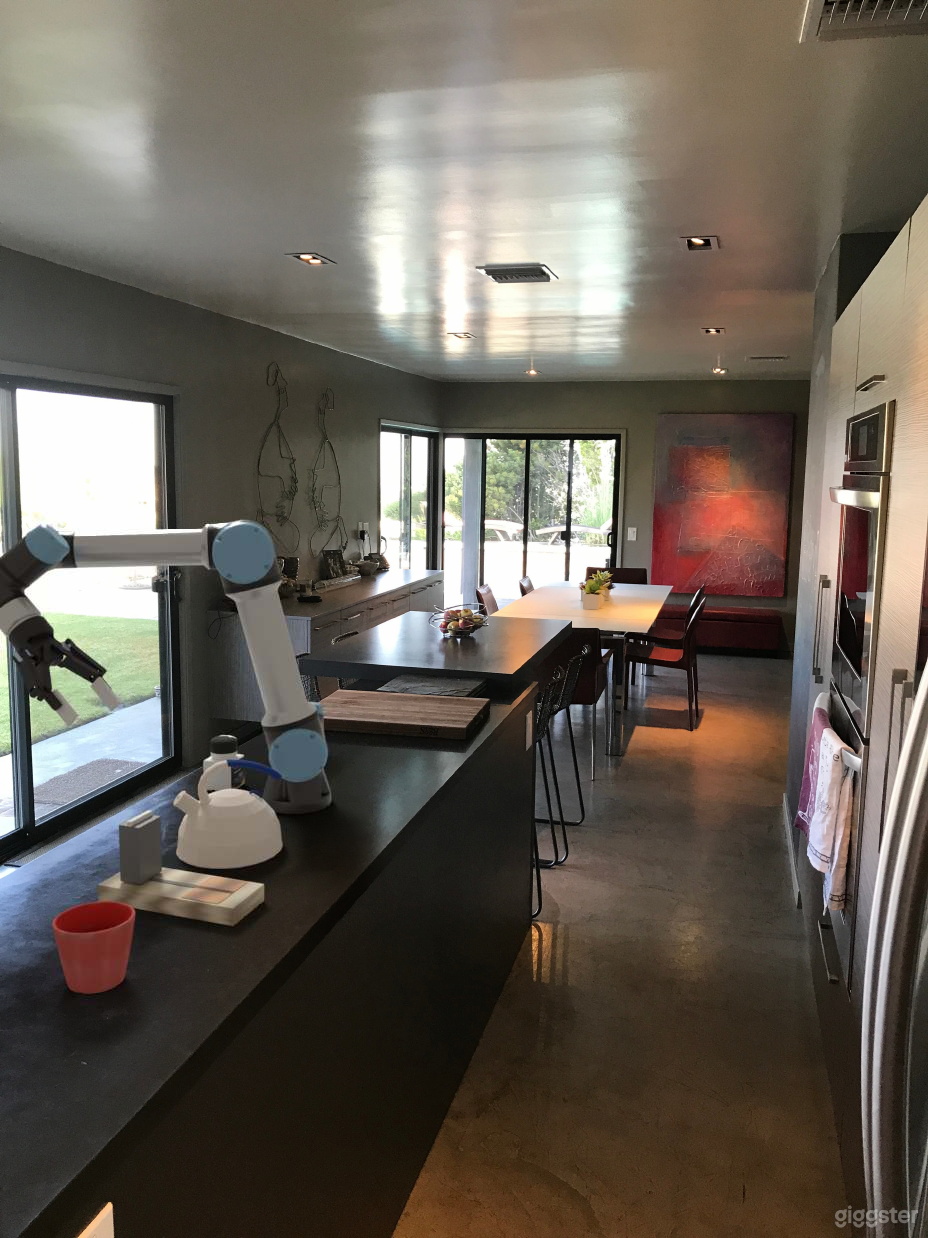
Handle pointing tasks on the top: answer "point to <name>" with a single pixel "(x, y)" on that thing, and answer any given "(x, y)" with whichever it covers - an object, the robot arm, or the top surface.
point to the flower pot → (94, 944)
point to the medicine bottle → (227, 776)
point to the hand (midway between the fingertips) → (95, 713)
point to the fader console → (187, 895)
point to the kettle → (227, 824)
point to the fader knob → (140, 848)
